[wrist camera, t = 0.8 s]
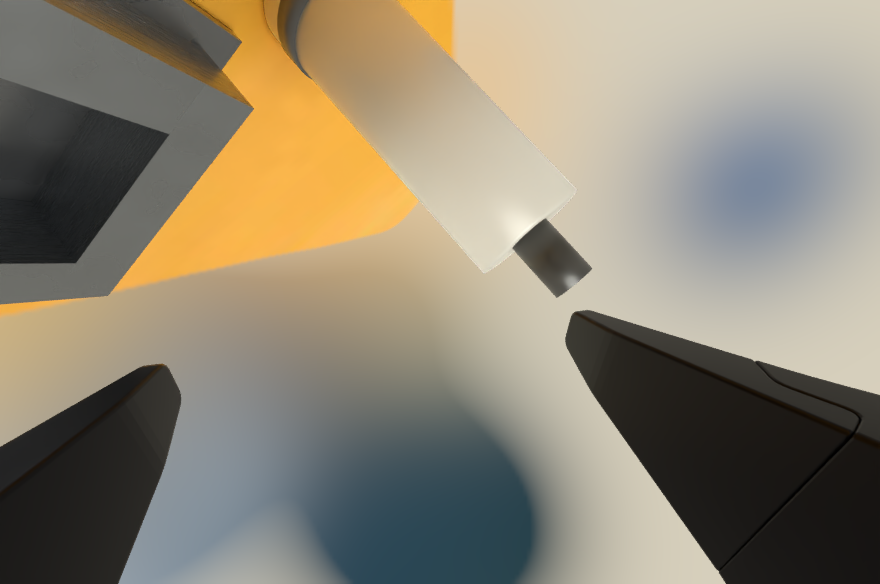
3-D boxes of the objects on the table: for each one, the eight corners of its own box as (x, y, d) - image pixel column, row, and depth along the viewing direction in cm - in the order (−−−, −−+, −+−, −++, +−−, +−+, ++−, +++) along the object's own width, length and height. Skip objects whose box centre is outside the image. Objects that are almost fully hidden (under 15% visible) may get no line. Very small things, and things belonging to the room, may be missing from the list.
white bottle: (237, 10, 15) (520, 334, 13) (317, -104, 13) (641, 234, 12) (310, 69, 19) (527, 315, 17) (375, -13, 18) (616, 242, 16)
